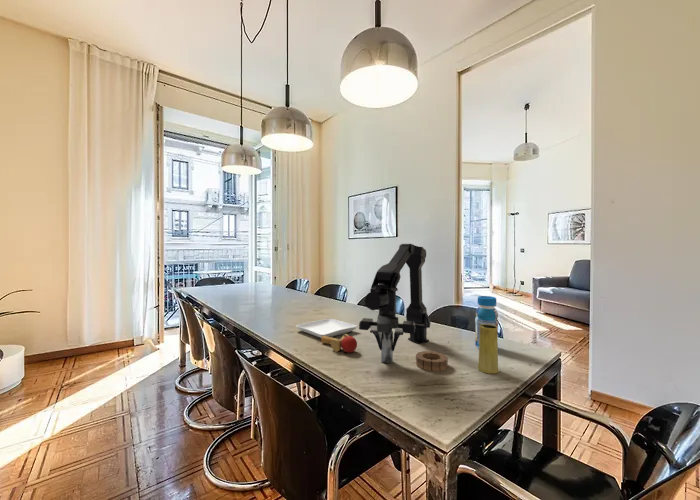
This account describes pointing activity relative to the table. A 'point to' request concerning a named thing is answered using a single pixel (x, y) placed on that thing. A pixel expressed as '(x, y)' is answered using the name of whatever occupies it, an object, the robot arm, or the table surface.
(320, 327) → the salad plate
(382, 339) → the grey metal cylinder
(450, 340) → the table surface
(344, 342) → the kendama
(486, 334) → the vase
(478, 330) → the beverage bottle
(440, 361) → the bead ring
